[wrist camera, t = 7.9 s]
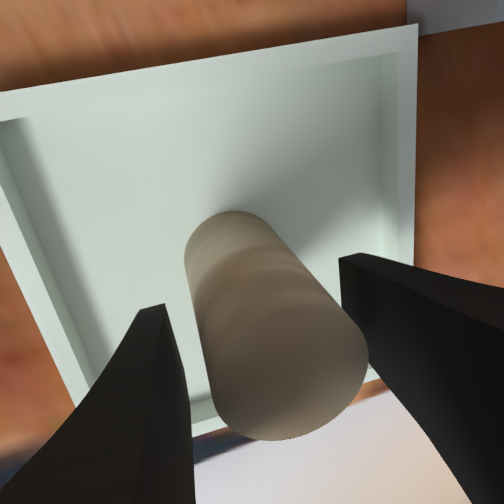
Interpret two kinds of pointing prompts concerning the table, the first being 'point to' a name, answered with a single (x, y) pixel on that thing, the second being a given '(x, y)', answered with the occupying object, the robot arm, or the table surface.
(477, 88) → the table surface
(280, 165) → the sage tray
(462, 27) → the charcoal bin
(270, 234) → the birch pin
